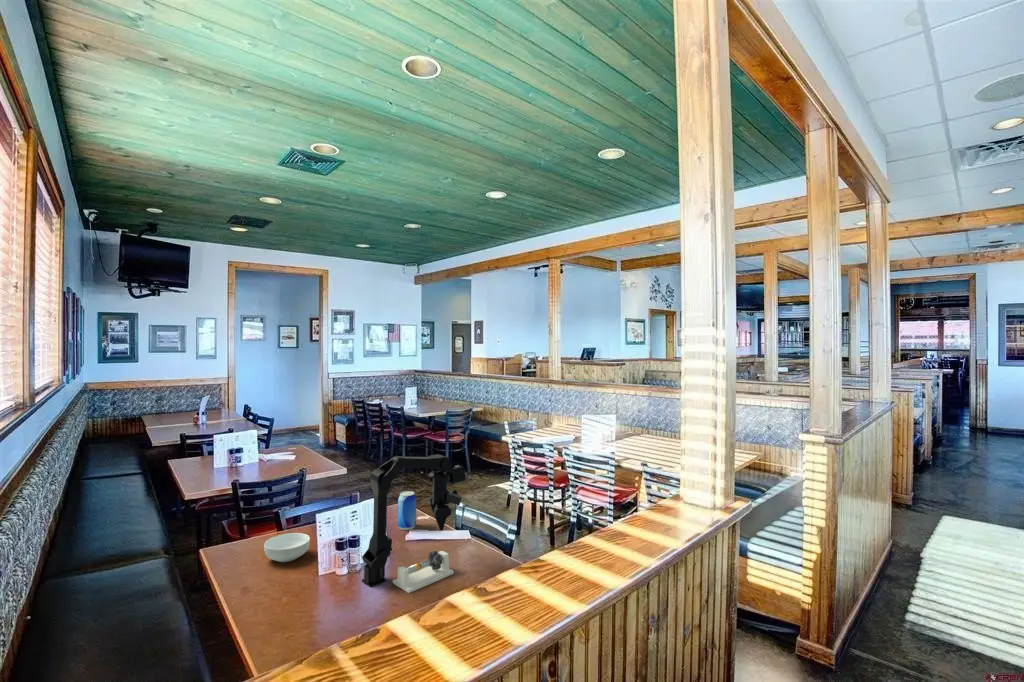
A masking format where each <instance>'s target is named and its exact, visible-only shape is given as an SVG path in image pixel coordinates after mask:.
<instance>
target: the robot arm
mask: <svg viewBox="0 0 1024 682" xmlns="http://www.w3.org/2000/svg"><path fill="white" fill-rule="evenodd" d="M406 468H407V469H431V470H432V471H431V472H429V473H428V474H427V477H429V478H432V489H431V491H432V494H431V495H430V496H429V499H428V500H429V505H430V507H431V511H432V513H433V515H434V516H433V517H434V518H435V521H436V523H437V526H438V529H439V531H440V532H443V531H444V528H445V525H446V520H447V518H449V517H450V516H451V515H452V507H450V506H449V505H450V504H454V505H456V506H460V505H461V502H462V499H463V497H462V496H461V495H462V494H461V495H460V494H459V493H458V490H456V489H452V490H451V491H449V489H448V485H449V486H454V485H459V484H464V483H465V482H466V478H467V477H466V474H465V470H464V467H463V466H461V465H458V466H456V467H453V466H452V463H451V460H450V458H449V456H448V457H447V456H446V455H441V454H438V453H437V454H432V455H428V456H399V455H395V456H392V457H391V459H389V460H388V461H386V462H385V463H383V464H382V465H380V466H379V467H378V468H376V469H374V470H373V471H372V472H371V473H370V476H369V480H370V481H369V483H370V487H371V490H372V493H373V519H372V520H373V523H372V525H373V527H372V528H373V530H372V536H371V537H370V539H369V543H368V548H367V549H366V551H365V552H364V553H363V555H362V556H361V558H362V559H361V560H362V562H363V563H365V564H364V566H363V579H361V582H362V583H364V584H365V585H367V586H368V587H374V586H377V585H380V584H382V583H385V582H386V581H387V578H385V575H386V572H385V571H386V563H387V562H388V558H389V557H390V556H391V552H392V551H393V549H392V544H393V539H392V538H390V537H389V536H388V535H387V519H388V518H387V515H388V514H387V512H388V495H389V492H390V490H391V487H392V482H393V481H394V480H395V479H396V477H398V475H399V473H400V472H401V470H402V469H406Z"/></svg>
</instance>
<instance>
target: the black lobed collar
mask: <svg viewBox="0 0 1024 682" xmlns="http://www.w3.org/2000/svg"><path fill="white" fill-rule="evenodd" d="M438 552H439V551H437V550H432V551H429V553H428V556H427V560H428V559H430V558H433V557H435V560H437V561H436V564H434V565H431V566H432V569H433V570H437V569H440V568H441V564H442V560H441V555H440V554H438ZM431 566H430V567H431Z"/></svg>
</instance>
